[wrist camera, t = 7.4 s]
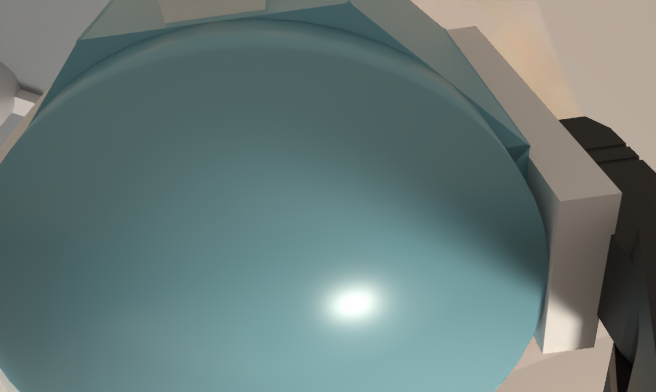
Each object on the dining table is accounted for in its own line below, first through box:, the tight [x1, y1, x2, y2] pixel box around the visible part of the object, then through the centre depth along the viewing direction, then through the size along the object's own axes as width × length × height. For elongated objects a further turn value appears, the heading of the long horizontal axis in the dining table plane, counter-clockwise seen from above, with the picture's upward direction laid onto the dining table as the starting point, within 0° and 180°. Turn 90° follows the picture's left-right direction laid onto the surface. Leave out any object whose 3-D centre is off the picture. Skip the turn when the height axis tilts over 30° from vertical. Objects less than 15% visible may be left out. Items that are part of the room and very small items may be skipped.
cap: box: [0, 0, 548, 392], centre depth 11 cm, size 11×8×6 cm
